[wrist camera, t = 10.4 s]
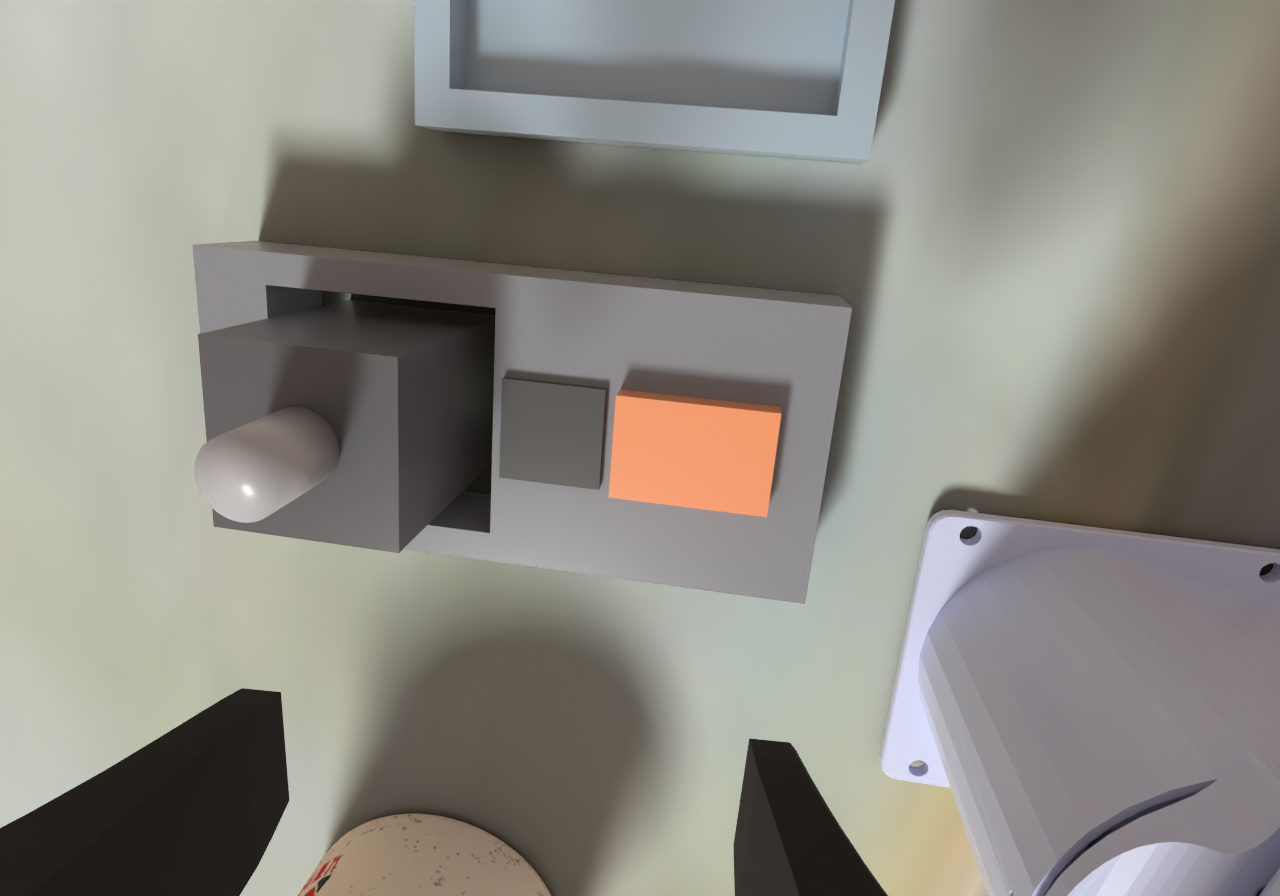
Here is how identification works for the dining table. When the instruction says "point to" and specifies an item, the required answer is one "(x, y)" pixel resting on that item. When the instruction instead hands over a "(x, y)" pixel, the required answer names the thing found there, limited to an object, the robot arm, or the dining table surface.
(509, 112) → the tray
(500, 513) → the power strip
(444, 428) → the plug
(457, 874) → the teacup with lid
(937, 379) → the dining table surface
